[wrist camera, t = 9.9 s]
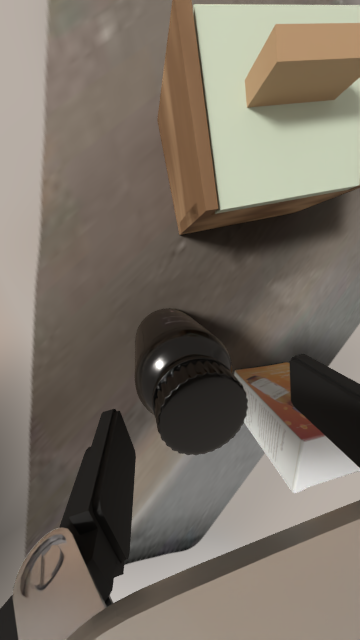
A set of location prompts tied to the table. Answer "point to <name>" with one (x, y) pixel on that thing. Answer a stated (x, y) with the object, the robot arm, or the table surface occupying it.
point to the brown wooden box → (198, 138)
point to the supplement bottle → (187, 383)
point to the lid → (280, 100)
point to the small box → (289, 430)
